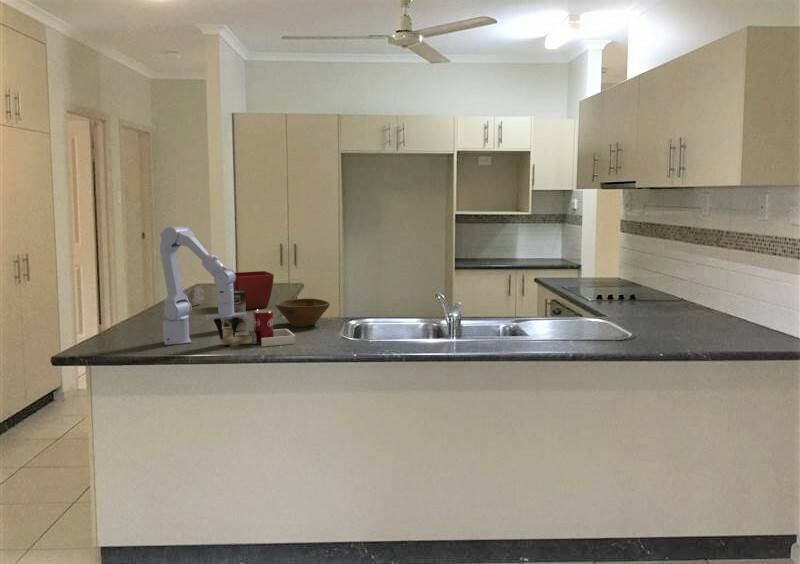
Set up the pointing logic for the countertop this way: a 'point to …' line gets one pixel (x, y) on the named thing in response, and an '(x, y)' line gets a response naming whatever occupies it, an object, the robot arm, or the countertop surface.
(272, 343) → the white tray
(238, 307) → the coffee box
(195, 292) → the pumice stone
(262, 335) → the soda can
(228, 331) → the tan boxy piece
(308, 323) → the bowl
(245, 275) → the plant pot
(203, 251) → the robot arm
